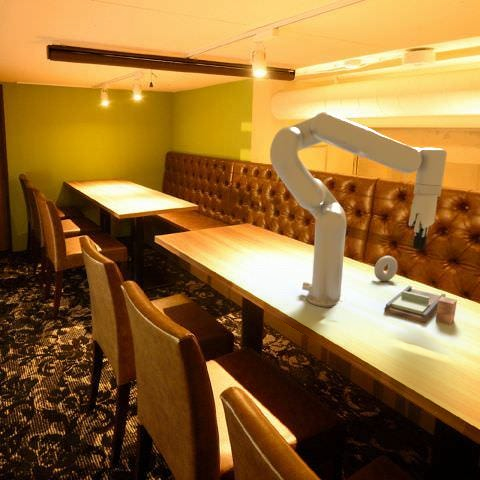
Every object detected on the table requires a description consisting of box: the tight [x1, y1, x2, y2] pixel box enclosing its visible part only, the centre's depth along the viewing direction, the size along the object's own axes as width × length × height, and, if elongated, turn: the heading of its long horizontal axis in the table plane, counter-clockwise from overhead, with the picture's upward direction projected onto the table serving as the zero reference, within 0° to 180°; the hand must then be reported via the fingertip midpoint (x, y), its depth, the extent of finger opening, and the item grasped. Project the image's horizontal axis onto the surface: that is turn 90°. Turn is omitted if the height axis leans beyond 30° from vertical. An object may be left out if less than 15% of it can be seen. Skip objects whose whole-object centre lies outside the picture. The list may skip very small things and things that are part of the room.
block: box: [435, 296, 458, 326], centre depth 128 cm, size 4×4×8 cm
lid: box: [391, 290, 431, 315], centre depth 134 cm, size 9×8×3 cm
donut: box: [373, 255, 398, 282], centre depth 165 cm, size 10×4×10 cm, turn 113°
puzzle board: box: [383, 285, 446, 324], centre depth 139 cm, size 12×22×4 cm, turn 141°
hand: (418, 248), depth 136 cm, fingers closed
